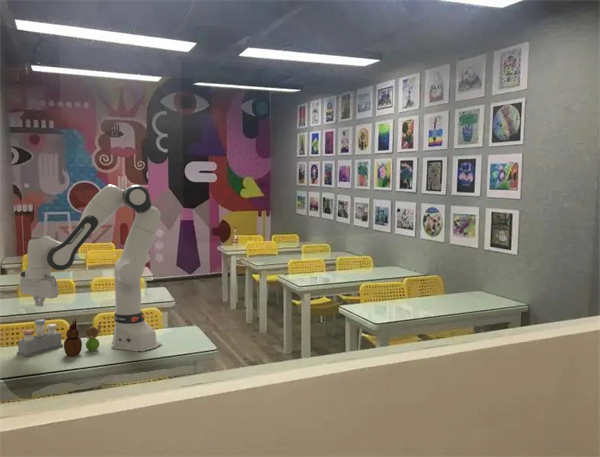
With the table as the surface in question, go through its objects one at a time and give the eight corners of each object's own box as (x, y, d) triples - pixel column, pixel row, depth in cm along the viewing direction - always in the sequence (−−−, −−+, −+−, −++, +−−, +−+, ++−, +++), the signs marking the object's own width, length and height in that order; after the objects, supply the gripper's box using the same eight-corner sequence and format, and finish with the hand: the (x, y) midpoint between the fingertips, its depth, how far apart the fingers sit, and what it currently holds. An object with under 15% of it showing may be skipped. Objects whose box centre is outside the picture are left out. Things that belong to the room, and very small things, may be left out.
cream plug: (58, 342, 226) (58, 324, 225) (50, 344, 222) (50, 326, 222) (52, 341, 228) (52, 323, 227) (44, 343, 224) (44, 325, 224)
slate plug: (47, 338, 221) (47, 320, 220) (39, 340, 217) (38, 322, 217) (41, 337, 223) (41, 318, 222) (33, 339, 219) (32, 320, 219)
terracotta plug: (36, 349, 216) (35, 330, 216) (27, 351, 213) (26, 332, 212) (29, 347, 218) (29, 329, 217) (21, 350, 215) (20, 331, 214)
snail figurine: (103, 350, 222) (103, 322, 222) (89, 353, 218) (88, 325, 217) (98, 347, 226) (98, 320, 225) (83, 350, 222) (83, 322, 221)
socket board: (63, 346, 226) (62, 333, 226) (27, 357, 211) (27, 342, 211) (52, 344, 229) (52, 330, 229) (16, 354, 215) (16, 340, 214)
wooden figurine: (77, 351, 219) (76, 317, 218) (84, 354, 216) (83, 319, 215) (61, 355, 214) (61, 320, 213) (68, 358, 211) (67, 322, 209)
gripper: (62, 275, 216) (62, 308, 217) (30, 270, 225) (30, 301, 226) (49, 277, 210) (49, 310, 211) (17, 272, 220) (17, 304, 221)
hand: (39, 306), depth 219 cm, fingers closed
